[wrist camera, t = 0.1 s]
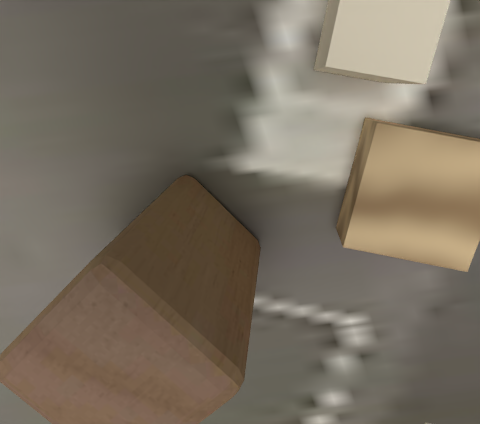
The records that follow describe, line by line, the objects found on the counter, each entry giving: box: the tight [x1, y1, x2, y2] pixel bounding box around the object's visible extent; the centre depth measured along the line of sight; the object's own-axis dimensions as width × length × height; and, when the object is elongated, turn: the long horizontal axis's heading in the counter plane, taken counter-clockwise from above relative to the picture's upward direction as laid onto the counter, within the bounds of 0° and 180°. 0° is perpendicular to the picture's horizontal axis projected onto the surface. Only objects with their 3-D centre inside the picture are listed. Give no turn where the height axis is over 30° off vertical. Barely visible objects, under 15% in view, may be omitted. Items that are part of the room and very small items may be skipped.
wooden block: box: [0, 175, 261, 424], centre depth 31 cm, size 10×10×20 cm
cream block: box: [314, 0, 450, 84], centre depth 29 cm, size 6×6×10 cm
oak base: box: [336, 118, 480, 272], centre depth 35 cm, size 10×10×5 cm
